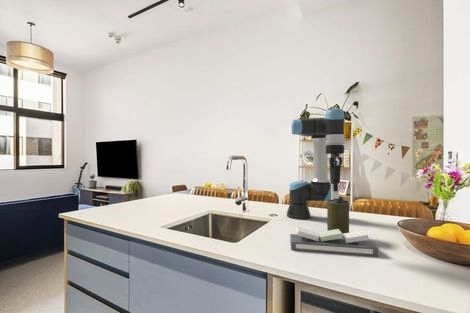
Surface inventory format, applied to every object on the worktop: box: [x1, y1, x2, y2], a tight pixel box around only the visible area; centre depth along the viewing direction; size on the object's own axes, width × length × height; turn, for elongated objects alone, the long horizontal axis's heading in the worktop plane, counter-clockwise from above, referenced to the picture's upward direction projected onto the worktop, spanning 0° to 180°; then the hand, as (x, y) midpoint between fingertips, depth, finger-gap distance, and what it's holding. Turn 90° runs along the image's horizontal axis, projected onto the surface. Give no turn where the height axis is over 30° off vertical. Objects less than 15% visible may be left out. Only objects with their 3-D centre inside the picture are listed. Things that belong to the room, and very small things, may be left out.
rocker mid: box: [317, 229, 343, 242], centre depth 102 cm, size 6×9×2 cm, turn 79°
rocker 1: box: [295, 226, 319, 241], centre depth 104 cm, size 6×9×2 cm, turn 79°
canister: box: [326, 196, 350, 234], centre depth 117 cm, size 11×10×20 cm
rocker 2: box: [342, 229, 370, 243], centre depth 100 cm, size 6×9×2 cm, turn 79°
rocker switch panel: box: [289, 233, 379, 257], centre depth 102 cm, size 10×34×5 cm, turn 79°
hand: (335, 198), depth 102 cm, fingers closed
